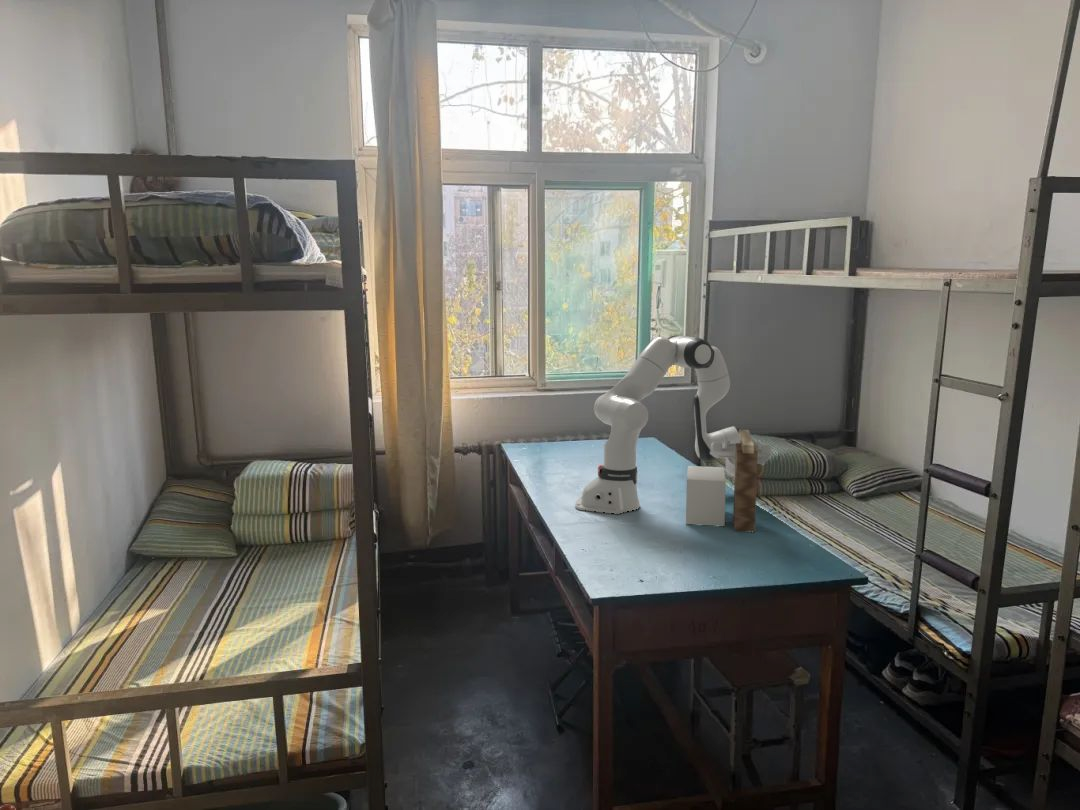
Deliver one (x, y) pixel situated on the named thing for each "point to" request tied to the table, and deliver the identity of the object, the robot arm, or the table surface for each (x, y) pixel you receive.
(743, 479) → the post
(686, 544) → the table surface
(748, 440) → the slat
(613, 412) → the robot arm
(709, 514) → the white upright block
